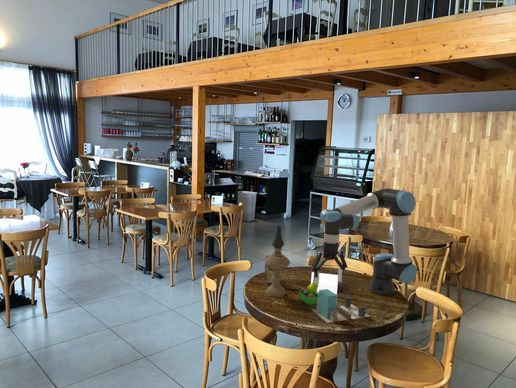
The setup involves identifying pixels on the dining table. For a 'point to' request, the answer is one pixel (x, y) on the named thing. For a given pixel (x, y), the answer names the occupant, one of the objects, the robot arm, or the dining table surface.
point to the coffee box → (268, 273)
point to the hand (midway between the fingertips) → (328, 282)
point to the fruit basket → (310, 294)
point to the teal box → (326, 302)
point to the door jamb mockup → (344, 312)
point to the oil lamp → (277, 265)
